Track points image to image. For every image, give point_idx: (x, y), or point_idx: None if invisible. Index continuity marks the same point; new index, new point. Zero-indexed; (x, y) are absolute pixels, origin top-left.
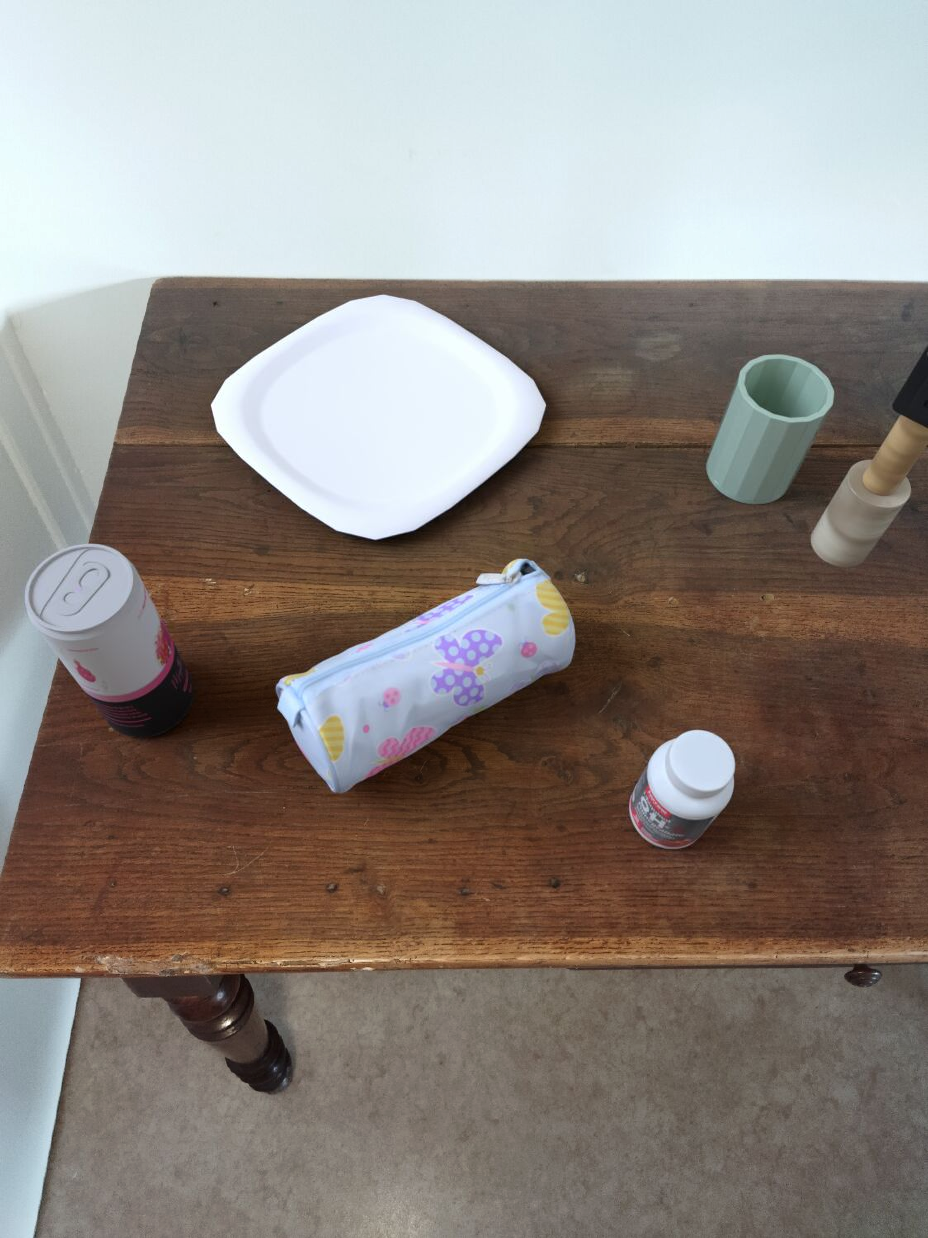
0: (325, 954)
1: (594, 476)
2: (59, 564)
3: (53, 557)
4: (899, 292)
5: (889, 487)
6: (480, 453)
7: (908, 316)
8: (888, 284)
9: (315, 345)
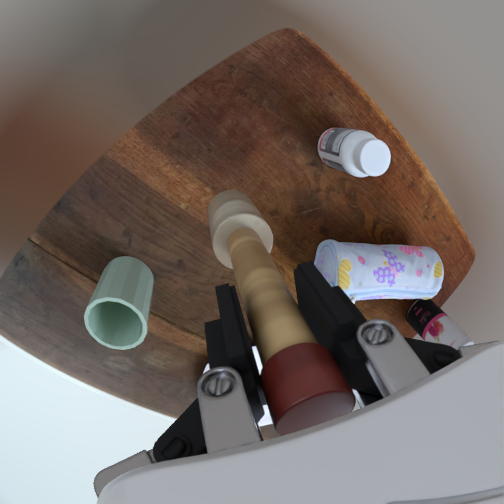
0: (446, 200)
1: (210, 320)
2: None
3: None
4: None
5: (257, 235)
6: (255, 355)
7: None
8: None
9: (270, 416)
